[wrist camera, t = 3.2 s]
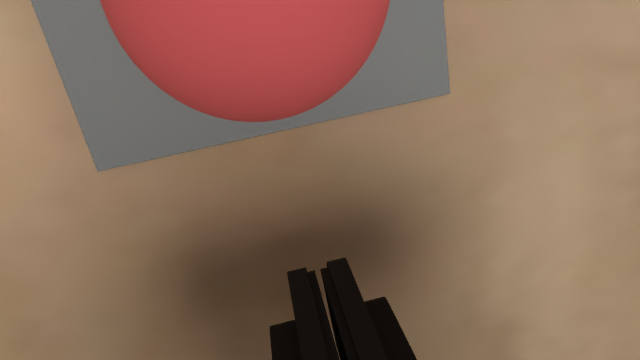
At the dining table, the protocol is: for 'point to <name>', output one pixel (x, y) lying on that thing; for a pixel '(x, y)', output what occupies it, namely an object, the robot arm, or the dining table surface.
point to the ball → (248, 50)
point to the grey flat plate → (205, 130)
